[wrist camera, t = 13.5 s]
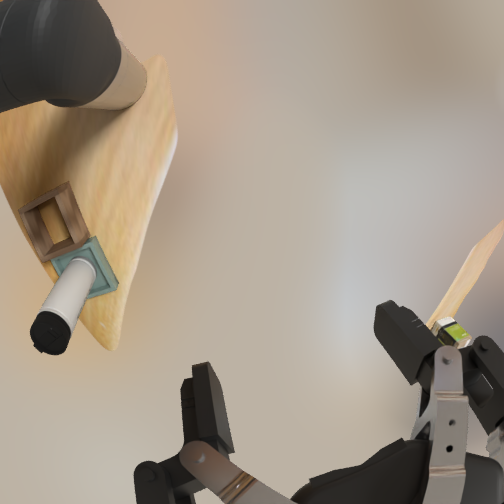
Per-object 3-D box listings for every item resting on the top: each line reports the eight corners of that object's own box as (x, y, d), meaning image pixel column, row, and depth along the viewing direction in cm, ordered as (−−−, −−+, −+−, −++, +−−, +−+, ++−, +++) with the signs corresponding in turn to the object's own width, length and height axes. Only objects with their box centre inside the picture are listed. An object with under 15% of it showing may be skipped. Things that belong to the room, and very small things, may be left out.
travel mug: (62, 266, 44) (21, 336, 27) (82, 249, 44) (40, 318, 26) (83, 289, 47) (51, 363, 30) (103, 273, 47) (73, 349, 30)
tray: (54, 252, 43) (49, 258, 41) (95, 235, 44) (91, 241, 42) (78, 295, 49) (74, 302, 46) (118, 282, 49) (116, 290, 47)
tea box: (435, 343, 90) (454, 366, 78) (420, 349, 88) (440, 374, 75) (450, 315, 84) (473, 338, 71) (435, 319, 82) (459, 345, 69)
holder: (30, 201, 38) (18, 210, 33) (68, 181, 39) (57, 188, 34) (52, 250, 43) (42, 262, 39) (90, 235, 44) (81, 247, 40)
